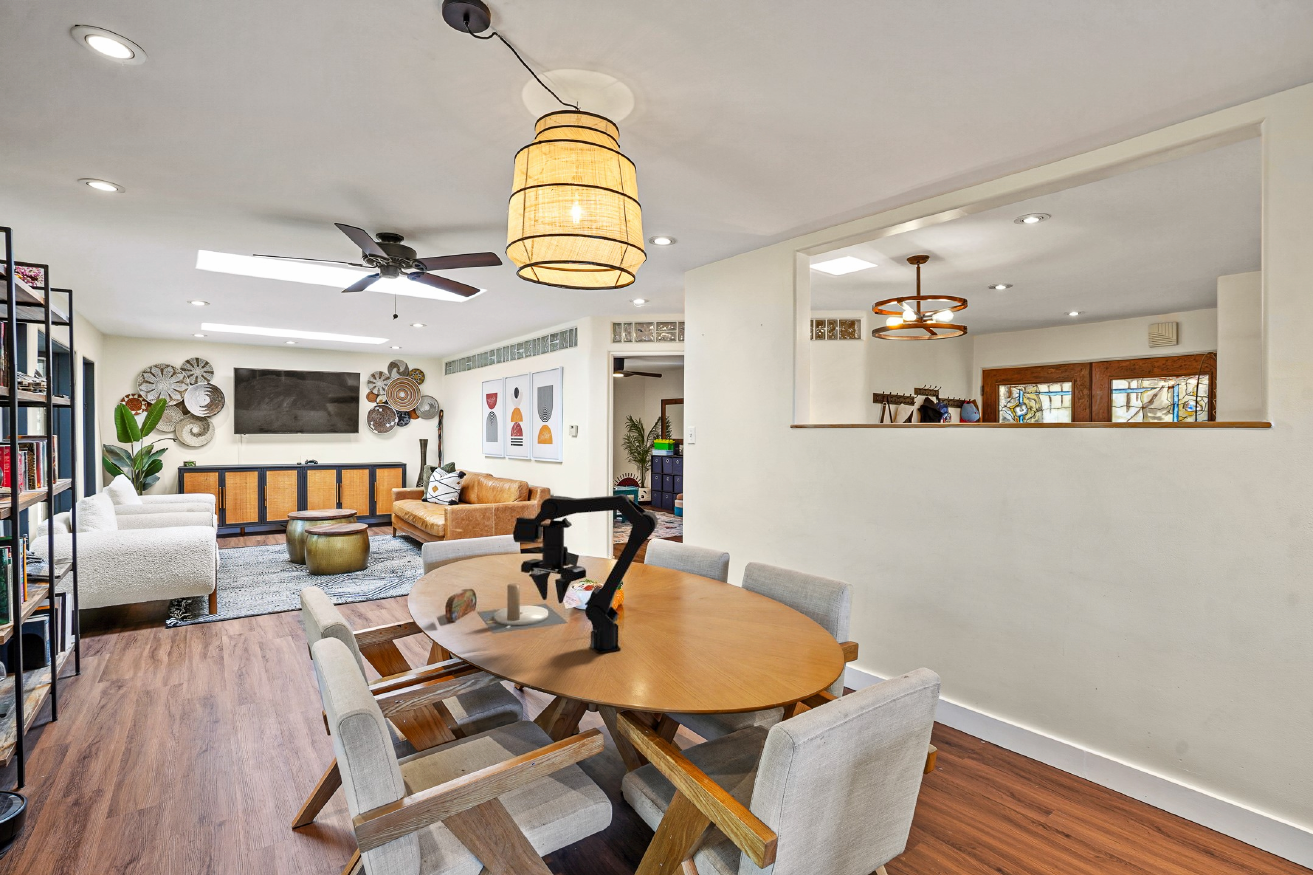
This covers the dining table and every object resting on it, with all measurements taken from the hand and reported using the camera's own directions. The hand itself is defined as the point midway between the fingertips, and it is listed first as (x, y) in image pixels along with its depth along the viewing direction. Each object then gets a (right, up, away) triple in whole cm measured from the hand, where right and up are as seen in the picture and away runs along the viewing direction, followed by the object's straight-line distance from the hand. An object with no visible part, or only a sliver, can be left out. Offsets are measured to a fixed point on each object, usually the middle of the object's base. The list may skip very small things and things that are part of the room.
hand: (552, 601), depth 170 cm
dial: (-13, -10, +21) cm, 27 cm away
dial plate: (-13, -11, +22) cm, 28 cm away
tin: (-32, -11, +22) cm, 40 cm away
